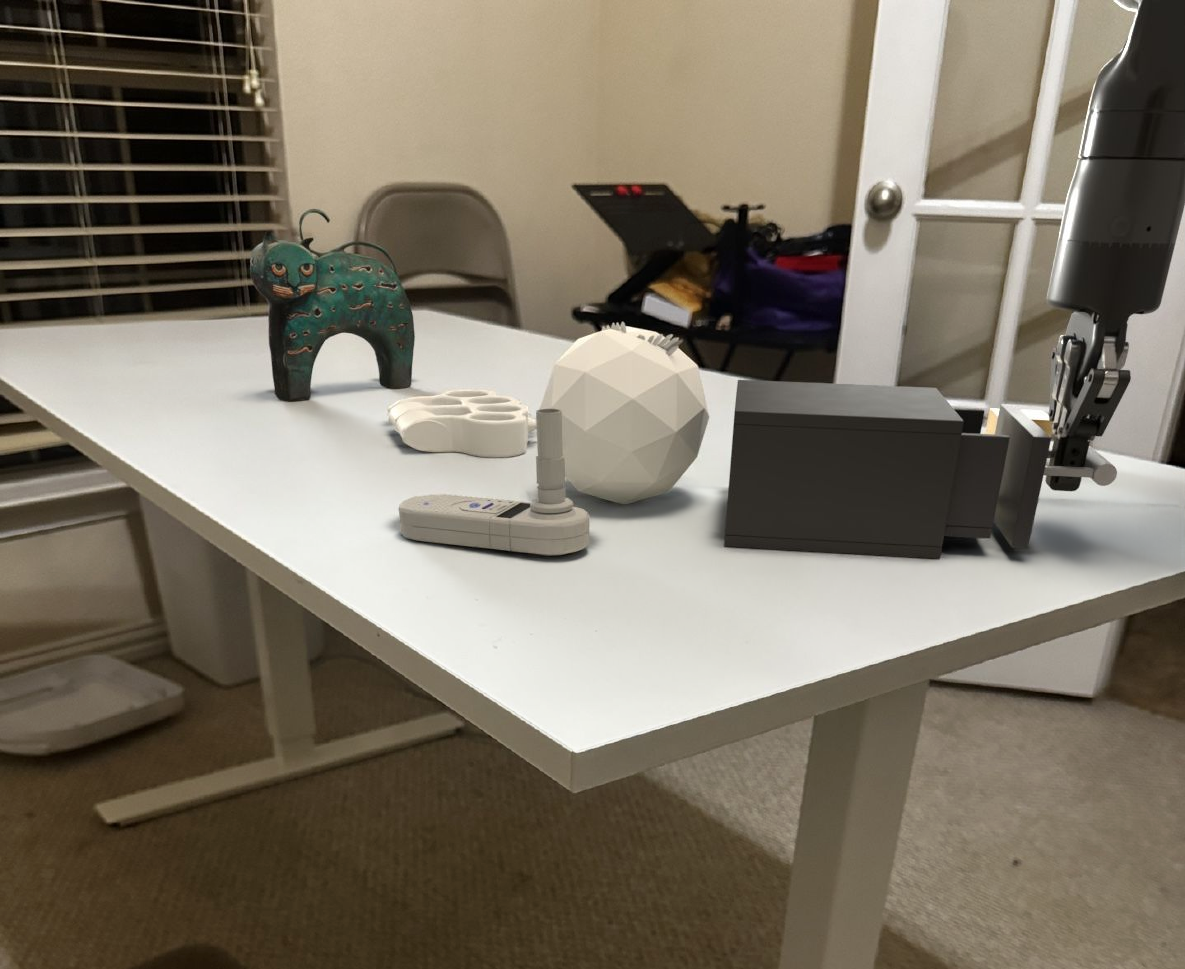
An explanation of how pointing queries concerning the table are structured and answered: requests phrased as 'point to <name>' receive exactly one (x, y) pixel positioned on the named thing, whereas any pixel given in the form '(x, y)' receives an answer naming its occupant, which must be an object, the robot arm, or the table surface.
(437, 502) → the electronic device
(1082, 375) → the robot arm
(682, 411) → the geodesic sphere
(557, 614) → the table surface
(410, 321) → the ceramic cat
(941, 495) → the dark grey box
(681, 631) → the table surface
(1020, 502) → the open drawer
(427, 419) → the white tray with wells
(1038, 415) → the block
